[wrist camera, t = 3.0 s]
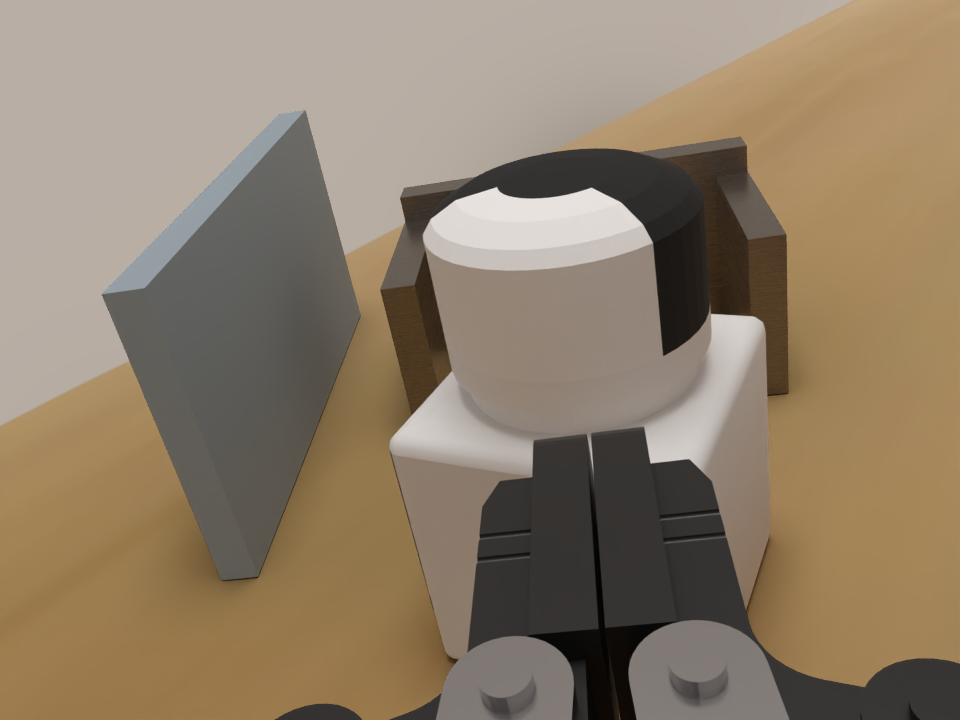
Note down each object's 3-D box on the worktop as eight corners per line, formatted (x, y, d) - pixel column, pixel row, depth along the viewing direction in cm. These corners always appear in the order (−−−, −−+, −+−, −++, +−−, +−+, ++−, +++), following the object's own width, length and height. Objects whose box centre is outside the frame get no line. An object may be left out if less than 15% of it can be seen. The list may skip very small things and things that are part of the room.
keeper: (417, 434, 34) (373, 263, 30) (437, 337, 40) (404, 188, 37) (788, 392, 32) (785, 204, 28) (746, 298, 38) (740, 136, 35)
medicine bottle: (545, 494, 29) (480, 130, 23) (774, 533, 26) (763, 118, 20) (441, 661, 24) (324, 242, 18) (711, 735, 20) (673, 251, 15)
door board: (221, 580, 28) (101, 294, 23) (336, 318, 44) (278, 114, 39) (258, 576, 28) (144, 287, 23) (360, 315, 44) (305, 110, 39)
